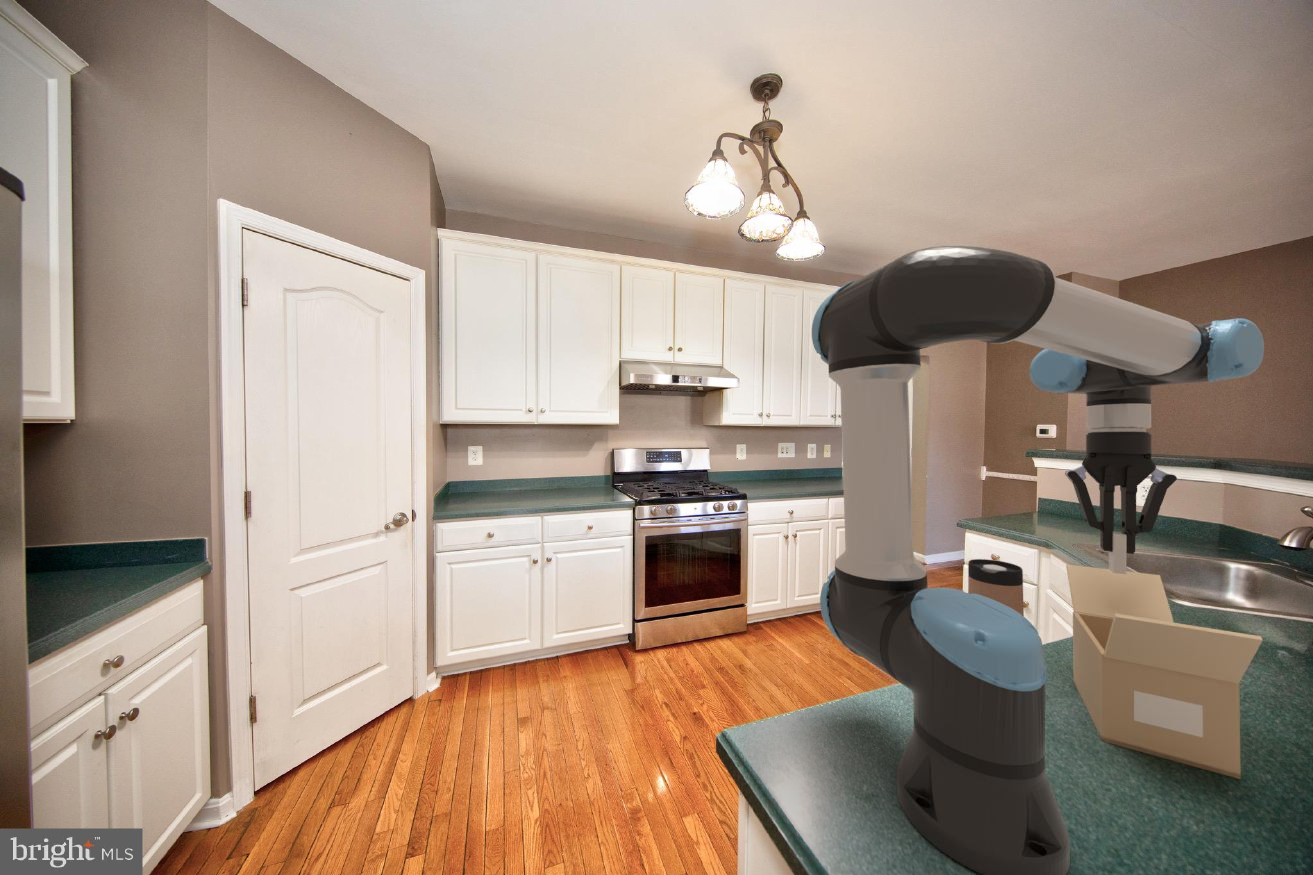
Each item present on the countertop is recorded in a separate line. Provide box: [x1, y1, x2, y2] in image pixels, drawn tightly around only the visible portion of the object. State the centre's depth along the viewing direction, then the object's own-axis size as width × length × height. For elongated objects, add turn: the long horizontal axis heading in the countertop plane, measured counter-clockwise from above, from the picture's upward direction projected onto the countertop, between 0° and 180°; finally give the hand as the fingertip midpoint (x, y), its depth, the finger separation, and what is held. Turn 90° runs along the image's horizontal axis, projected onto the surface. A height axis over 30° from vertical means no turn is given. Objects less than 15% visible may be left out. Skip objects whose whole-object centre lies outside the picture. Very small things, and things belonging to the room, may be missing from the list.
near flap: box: [1104, 614, 1264, 685], centre depth 54 cm, size 9×12×1 cm
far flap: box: [1065, 563, 1175, 623], centre depth 74 cm, size 9×12×1 cm
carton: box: [1072, 611, 1242, 780], centre depth 64 cm, size 18×12×12 cm, turn 145°
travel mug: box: [967, 558, 1025, 617], centre depth 75 cm, size 8×8×20 cm
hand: (1117, 571), depth 73 cm, fingers closed
